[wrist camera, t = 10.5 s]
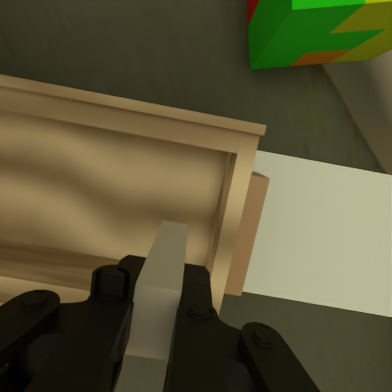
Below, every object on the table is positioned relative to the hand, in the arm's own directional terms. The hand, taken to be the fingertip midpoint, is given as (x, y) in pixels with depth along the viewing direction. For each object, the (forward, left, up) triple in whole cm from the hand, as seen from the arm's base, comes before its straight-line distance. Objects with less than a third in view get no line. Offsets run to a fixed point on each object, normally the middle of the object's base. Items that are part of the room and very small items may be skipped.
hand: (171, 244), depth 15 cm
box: (0, -7, -9) cm, 12 cm away
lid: (+1, +14, -10) cm, 17 cm away
